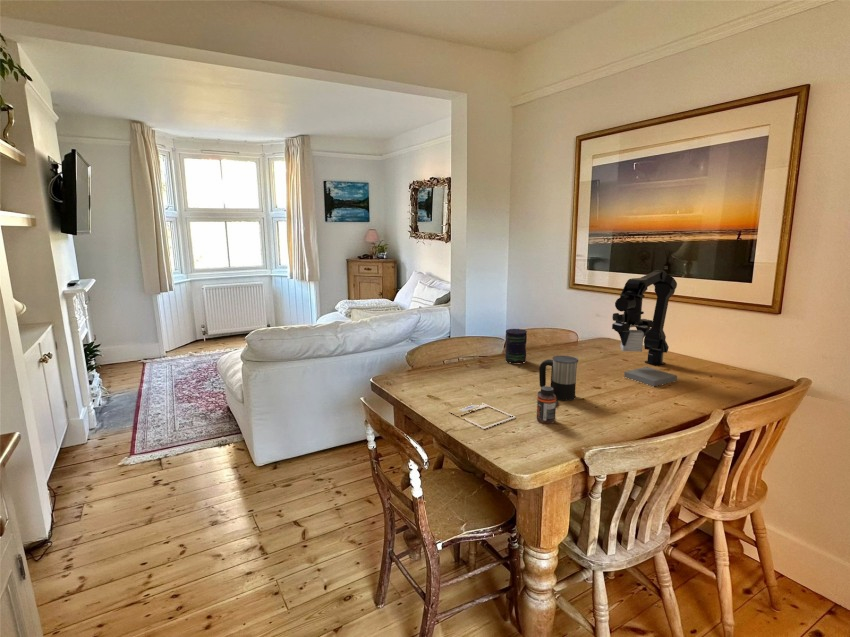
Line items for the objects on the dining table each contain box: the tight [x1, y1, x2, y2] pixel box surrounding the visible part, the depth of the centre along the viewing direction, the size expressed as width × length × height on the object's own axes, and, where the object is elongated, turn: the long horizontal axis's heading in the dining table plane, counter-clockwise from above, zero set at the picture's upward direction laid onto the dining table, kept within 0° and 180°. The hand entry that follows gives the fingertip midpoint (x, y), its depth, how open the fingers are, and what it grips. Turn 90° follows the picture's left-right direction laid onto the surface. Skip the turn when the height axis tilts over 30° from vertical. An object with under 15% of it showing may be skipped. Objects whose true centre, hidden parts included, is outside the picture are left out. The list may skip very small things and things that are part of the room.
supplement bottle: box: [536, 385, 557, 425], centre depth 148 cm, size 6×6×11 cm
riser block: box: [623, 366, 678, 387], centre depth 188 cm, size 14×14×3 cm
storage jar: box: [504, 328, 528, 363], centre depth 214 cm, size 10×10×15 cm
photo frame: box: [459, 402, 517, 430], centre depth 154 cm, size 15×1×18 cm
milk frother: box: [537, 355, 579, 405], centre depth 166 cm, size 14×16×15 cm
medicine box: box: [620, 329, 644, 353], centre depth 195 cm, size 8×4×9 cm, turn 80°
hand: (631, 344), depth 195 cm, fingers closed on medicine box, 9 cm apart
